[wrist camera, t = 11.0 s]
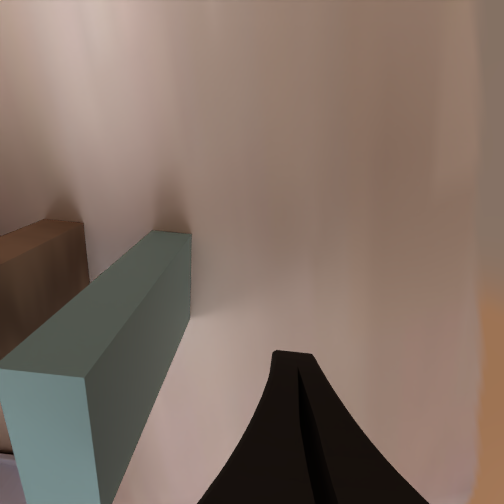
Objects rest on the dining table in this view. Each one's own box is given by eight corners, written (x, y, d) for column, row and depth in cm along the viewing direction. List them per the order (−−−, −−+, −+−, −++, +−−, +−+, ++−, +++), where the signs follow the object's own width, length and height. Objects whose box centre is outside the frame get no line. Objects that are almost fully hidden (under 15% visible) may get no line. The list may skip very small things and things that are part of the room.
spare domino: (189, 318, 18) (103, 524, 9) (154, 315, 18) (29, 515, 9) (191, 234, 16) (84, 378, 7) (152, 230, 16) (-9, 367, 7)
